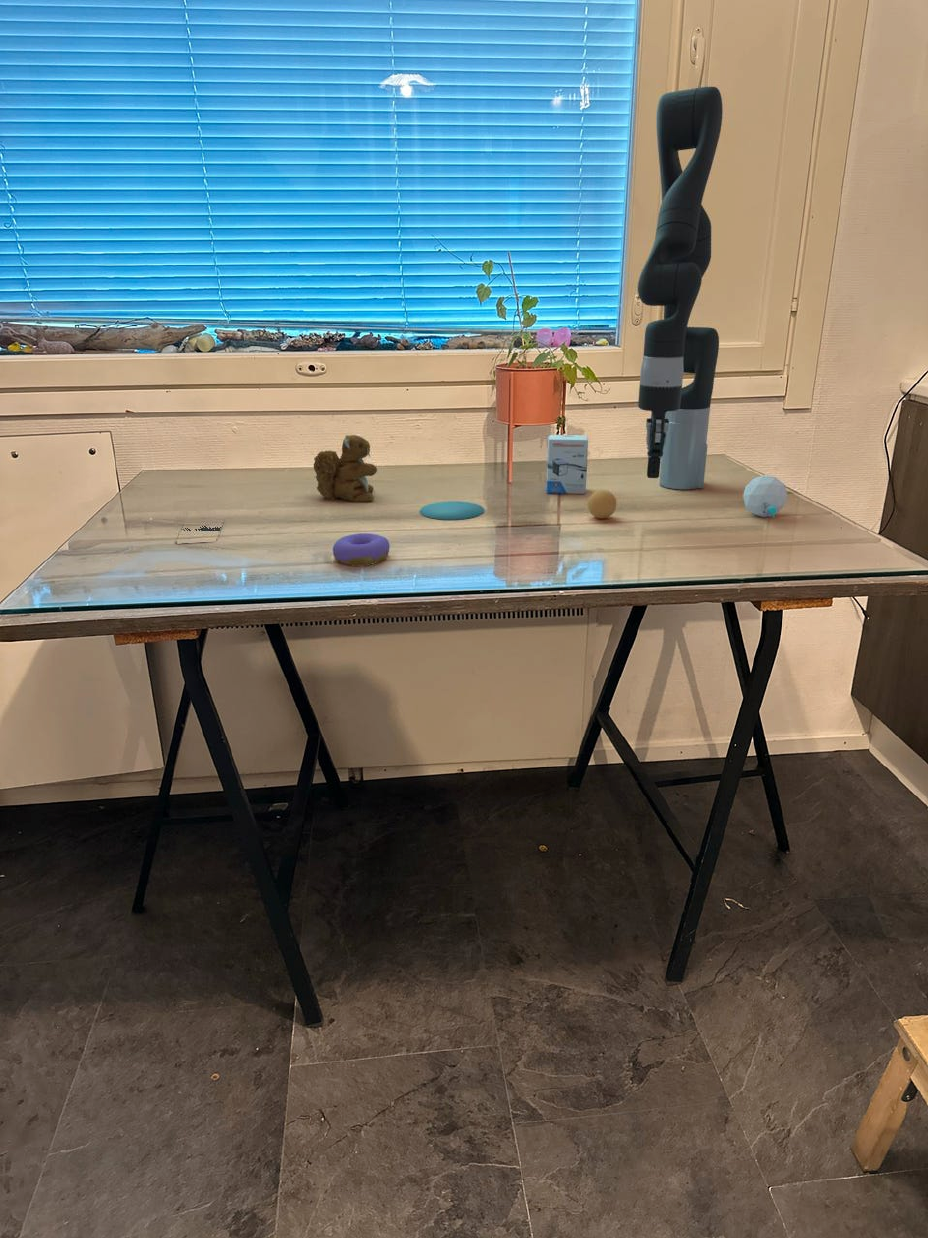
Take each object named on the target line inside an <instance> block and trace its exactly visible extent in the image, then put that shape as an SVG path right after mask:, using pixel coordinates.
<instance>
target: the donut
mask: <svg viewBox="0 0 928 1238" xmlns="http://www.w3.org/2000/svg"><path fill="white" fill-rule="evenodd" d="M390 548H391V546H390V542H389V540H388V539H387V538H386V537H385V536H383V535H379V534H376V533H369V532H368V533H367V532H365V533H364V532H363V533H361V532H360V533H354V534H348V535H345V536H342V537H341V538H340V539H338V540H336V542H334V544H333V547H332V554H333V556H334V558H335V560H336V561H338V562H339V563H340V564H342V563H343V564H342V565H345V564H346V566H350V565H364V566H368V565H367V564H371V565H373V564H372V563H375V562H378V563H380V562H382V561H384V560H385V559H386V558H387V557H388V555H389V554H390ZM379 561H380V562H379ZM375 564H376V563H375Z"/></svg>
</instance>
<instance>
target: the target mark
mask: <svg viewBox="0 0 928 1238" xmlns="http://www.w3.org/2000/svg"><path fill="white" fill-rule="evenodd" d="M484 512H485V509H484V507H483V506H482V505H480V504H477V503H474V502H469V501H460V500H459V501H458V500H457V501H456V500H455V501H454V500H452V501H451V500H450V501H439V502H434V503H429V504H425V505H424V506H422V507H421V508H420V509H419V513H420V515H421V516H423V515H424V516H423V517H425V516H426V517H425V518H428V517H429V519H433V518H434V519H433V520H441V521H458V520H466V519H472V518H475V517H478V516H480V515H482V514H483V513H484Z"/></svg>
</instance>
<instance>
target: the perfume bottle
mask: <svg viewBox="0 0 928 1238" xmlns="http://www.w3.org/2000/svg"><path fill="white" fill-rule="evenodd" d="M786 489H787V488H786V484H785V482H782V481H781V480H780V479H779V478H777V477H776V476H772V475H769V474H764V475H761V476H757V477H754V478H753V479H752V480H751V481H750V482H748V484H747V485H746V486H745V487H744V492H743V501H744V507H745V509H747V510H748V511H750V512H751V513H752V514H754V515H755V516H758V517H761V518H766V517H768V518H772V517H773V518H774V519H775V515H777V514H778V513H779V512H780V511H781V510H782V509H783V508H784V507H785V506H786V502H787V498H788V495H787V490H786Z"/></svg>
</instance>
